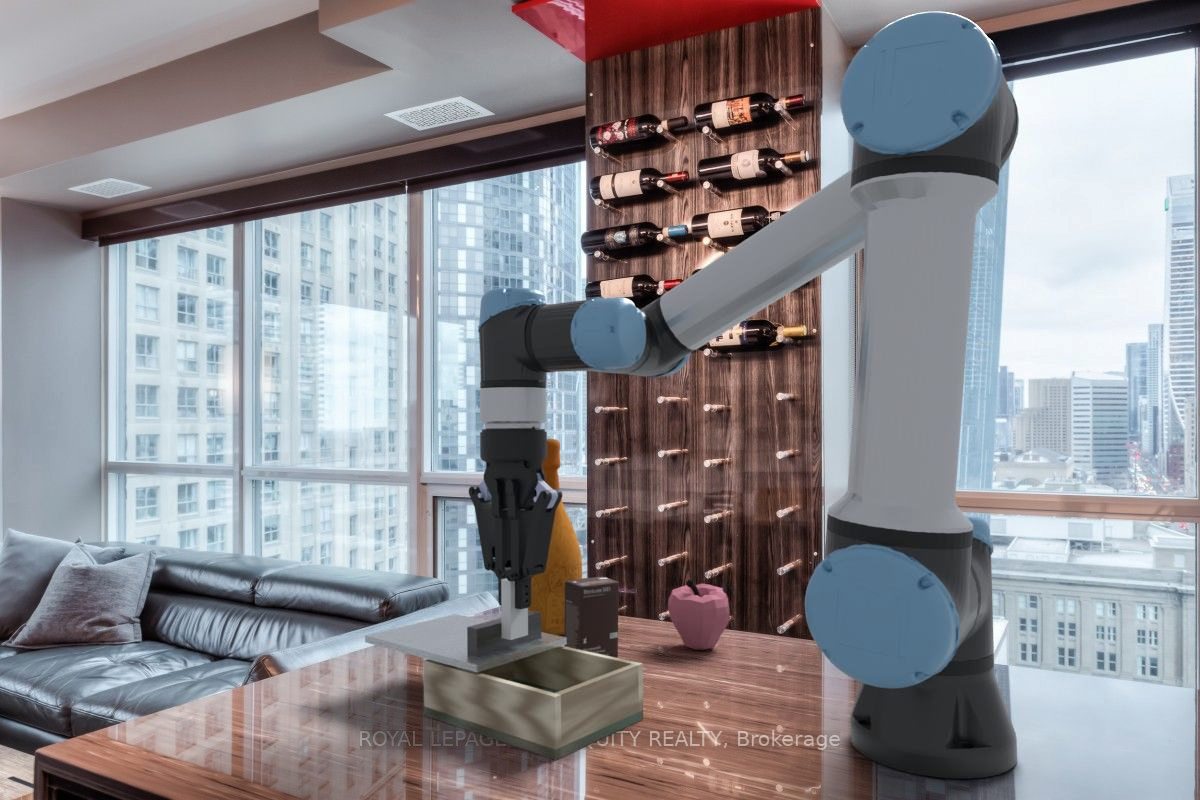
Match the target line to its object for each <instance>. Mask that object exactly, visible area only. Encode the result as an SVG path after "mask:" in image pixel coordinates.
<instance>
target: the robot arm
mask: <svg viewBox="0 0 1200 800" xmlns="http://www.w3.org/2000/svg"><path fill="white" fill-rule="evenodd" d="M839 97H840V98H839V99H840V109H841V115H842V120H843V124H844V125H845V129H846V130H847V132H848V133H849V135H850V136H851V137H852V139H853V147H852V161H851V162H852V163H851V169H849V171H847V172H845V173H844V174H842V175H841V176H839V177H838V178H837V179H834V180H833V181H831V183H829V184H827V185H826V186H824V187H823V188H822V189H820V190H818V191H817V192H815V193H814V194H812V195H811V196H809V197H808V198H806V199H805V200H803V201H801V202H800V203H799V204H797V205H796V206H794V207H792V208H791V209H790V210H788V211H787V212H786V213H784V214H782V215H781V216H779V217H778V218H777V219H775V220H773V221H772V222H770V223H768V224H766V226H764V227H762V228H761V229H760V230H758V231H757V232H755V233H754V234H752V235H751V236H749V237H748V238H747V239H744V240H743V241H742V242H741V243H739V244H737V245H736V246H735V247H733V248H731V249H730V250H728V251H727V252H725V253H724V254H722V255H721V256H719V257H718V258H717V259H715V260H714V261H712V262H710V263H709V264H707V265H706V266H704V267H702V268H701V269H700V270H698V271H697V272H695V273H694V274H692V275H690V276H689V277H688V278H687V279H685V280H683V281H682V282H680V283H679V284H677V285H675V287H672V288H671V289H670V290H669V291H667V292H665V293H664V294H662V295H661V296H660V297H658V298H657V299H655V300H653V301H652V302H651V303H649V304H647V305H645V307H643V308H641V309H640V308H639V307H636V305H635V303H634V302H633V301H632V300H631V299H629V298H626V297H604V296H596V297H595V296H594V298H592V299H591V298H590V299H584V300H576V301H566V302H561V303H560V302H559V303H551V304H547V300H546V296H545V294H544V293H543V292H542V291H541V290H539V289H536V288H535V289H534V288H529V287H528V288H527V287H501V288H495V289H493V288H492V289H491V290H488V291H486V292H485V293H484V294H483V295H482V297H481V299H480V309H479V325H478V326H477V330H478V331H477V332H478V338H479V339H478V340H479V342H478V343H479V360H480V361H479V362H480V364H479V365H480V367H479V368H480V381H479V383H480V384H479V385H480V386H479V422H480V424H482V425H483V424H485V425H484V427H485V428H483V429H482V430H481V432H479V433H480V434H479V450H480V451H479V455H480V459H481V461H482V462H485V464H486V467H485V470H484V472H483V481H481V482H480V483H479V484H478V485H475V486H474V485H473V486H470V487H469V488H468V495H469V497H470V500H471V502H472V504H473V507H474V512H475V517H476V522H477V523H476V524H477V529H478V536H479V542H480V547H481V548H480V549H481V553H482V560H483V566H484V568H485V570H486V571H491V572H493V573H494V574H495V576H496V577H497V580H498V581H497V582H498V583H497V591H498V593H497V594H498V597H497V599H498V604H499V606H501V614H500V615H501V620H502V638H504V639H508V640H513V639H516V638H520V637H523V636H527V635H528V608H529V607H530V605H531V579H532V577H533V576H535V575H538V574H541V573H544V572H545V570H546V564H547V558H548V553H549V547H550V541H551V535H552V529H553V523H554V518H555V512H556V509H557V507H558V505H559V503H560V501H561V499H562V498H563V492H562V490H561V489H560V490H559V489H557V490H553V489H552V488H551V487H550V486H549V485H548V484H547V483H546V482H545V474H544V471H543V468H542V463H543V461H544V460H545V459H546V457H547V438H548V435H547V434H548V433H547V431H546V428H542V424H545V423H546V422H547V373H556V372H557V373H559V372H597V373H607V374H608V373H609V374H621V375H622V374H623V375H632V376H633V375H634V376H641V377H646V378H648V379H649V378H650V379H654V378H661V377H668V376H672V375H674V374H676V373H678V372H679V371H681V370H682V369H683V368H684V367H685V365H686V364H687V362H688V360H689V359H690V357H691V354H692V352H694V351H696V350H698V349H699V348H701V347H703V346H705V345H706V344H708V343H709V342H711V341H713V340H714V339H716V338H718V337H719V336H721V335H723V334H724V333H726V332H727V331H730V329H733V328H734V327H736V326H737V325H739V324H741V323H742V322H744V321H745V320H747V319H749V318H750V317H752V316H754V315H755V314H757V313H759V312H761V311H763V310H764V309H766V308H768V307H769V306H771V305H772V304H773V303H775V302H777V301H778V300H780V299H782V298H783V297H785V296H787V295H789V294H790V293H792V292H793V291H795V290H797V289H798V288H800V287H801V286H803V285H805V284H806V283H808V282H810V281H812V280H814V279H815V278H817V277H818V276H820V275H822V274H823V273H825V272H827V271H829V269H831V268H834V267H835V266H836V265H838V264H840V263H841V262H843V261H844V260H846V259H849V258H850V257H851V256H853V255H855V254H856V253H858V252H860V251H861V250H863V249H864V251H863V252H864V253H863V266H862V267H863V268H862V269H863V270H862V278H861V279H862V280H861V283H862V284H861V293H860V295H861V297H860V306H859V307H860V308H859V323H858V325H859V327H858V336H857V337H858V339H857V351H856V365H855V367H856V368H855V380H854V381H855V382H854V393H853V395H854V396H853V405H852V408H853V409H852V423H851V435H850V450H849V465H848V476H847V477H848V479H847V480H848V481H847V490H846V492H845V493H844V494H843V496H841V497H840V498H838V500H836V501H835V502H834V503H833V504H832V505H830V506H829V507H828V508H827V509H828V510H827V517H826V519H827V520H826V533H825V546H824V556H823V557H824V558H823V560H821V561H820V562H819V563H818V564H817V565H816V567H815V568H814V570H813V574H812V575H811V577H810V579H809V582H808V584H807V587H806V591H805V596H804V611H805V612H804V613H805V618H806V623H807V627H808V630H809V632H810V635H811V636H812V637H811V638H813V640H814V641H813V642H814V643H815V645H816V646H817V648H818V649H819V650H820V651H821V652H822V653H823V654H824V656H825V658H827V660H829V662H830V663H831V664H832V665H833V666H834V667H835V668H837V669H838V670H839V671H840V672H842V673H843V674H844V675H846V676H848V677H850V678H851V679H853V680H856V681H857V682H859V683H860V685H859V689H858V691H857V695H856V697H855V700H854V704H853V707H852V710H851V714H850V722H849V723H850V742H851V744H852V745H853V747H854V748H855V749H856V750H857V751H858V752H859V753H861V754H862V755H863V756H865V757H866V758H868V759H870V760H871V761H874V762H877V763H878V764H882V765H883V766H886V767H889V768H892V769H896V770H899V771H903V772H906V773H910V774H916V775H921V776H928V777H933V778H942V779H944V778H945V779H978V778H979V779H980V778H988V777H993V776H997V775H1001V774H1003V773H1006V772H1009V770H1012V768H1014V767H1015V766H1016V764H1017V762H1018V745H1017V744H1018V741H1017V740H1018V739H1017V734H1016V731H1015V727H1014V724H1013V722H1012V720H1011V717H1010V714H1009V711H1008V709H1007V705H1006V703H1005V700H1004V697H1003V694H1002V692H1001V689H1000V686H999V684H998V681H997V677H996V674H995V656H994V655H995V654H994V653H995V652H994V651H995V649H994V648H995V645H994V644H995V643H994V615H993V614H994V612H993V611H994V609H993V580H992V579H993V573H992V571H993V570H992V555H993V553H994V545H993V543H992V541H991V540H992V538H991V532H990V531H991V529H990V526H989V524H988V522H987V521H986V520H985V519H984V518H983V517H980V516H978V515H973V514H964V512H963V511H962V510H961V509H960V508H959V505H958V504H957V502H956V493H957V492H956V491H957V489H956V488H957V478H958V467H959V466H958V465H959V451H960V450H959V449H960V437H961V424H962V412H963V411H962V410H963V397H964V386H965V385H964V382H965V372H966V371H965V370H966V359H967V358H966V357H967V345H968V329H969V319H970V318H969V315H970V314H969V313H970V303H971V302H970V301H971V287H972V274H973V262H974V261H973V260H974V249H975V248H974V247H975V246H974V245H975V235H976V234H975V233H976V232H975V231H976V219H977V214H978V212H980V210H981V209H982V208H983V207H984V206H986V204H988V203H989V202H990V201H991V200H993V199H994V198H996V196H997V195H998V193H999V183H1000V172H1001V170H1002V169H1003V167H1004V165H1005V164H1006V163H1007V161H1008V160H1009V158H1010V156H1011V154H1012V151H1013V150H1014V148H1015V144H1016V141H1017V138H1018V135H1019V124H1020V123H1019V122H1020V119H1019V111H1018V105H1017V103H1016V100H1015V97H1014V95H1013V93H1012V91H1011V88H1010V87H1009V85H1008V82H1007V80H1006V77H1005V74H1004V73H1003V63H1002V58H1001V55H1000V52H999V51H998V48H997V46H996V44H995V43H994V42H993V40H991V38H989V37H988V36H987V34H985V32H984V31H983V30H982V29H981V28H980V26H978V24H976V23H974V22H973V21H972V20H970V19H968V18H966V17H964V16H962V15H959V14H957V13H952V12H946V11H924V12H918V13H914V14H910V15H907V16H905V17H902V18H900V19H897V20H894V21H893V22H891V23H889V24H888V25H886V26H884V27H883V28H881V29H880V30H879V31H878V32H876V33H875V34H874V35H873V36H872V37H871V38H870V39H869V40H868V41H867V42H866V43H865V44H864V45H863V46H861V47H860V49H858V51H857V52H856V54H855V55H854V57H852V59H851V61H850V63H849V65H848V67H847V69H846V72H845V74H844V76H843V79H842V84H841V89H840V96H839ZM562 500H563V499H562Z"/></svg>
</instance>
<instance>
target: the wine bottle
mask: <svg viewBox="0 0 1200 800" xmlns="http://www.w3.org/2000/svg"><path fill="white" fill-rule="evenodd" d="M561 465H562V464H561V443H560V441H559V440H558V439H554V438H548V439H547V457H546V459H545V460H544V461H543V463H542V468H543V471H544V474H545V482H546V483H547V484H548V485H549V486H550V487H551V488H552V489H553V490H557V489H559V490H561V489H560V478H559V477H560V476H559V472H558V470H559V469H560V468H561ZM582 578H583V558H582V551H581V547H580V543H579V540H578V537H577V534H576V531H575V528H574V526H573V525H572V522H571V520H570V517H569V514H568V512H567V511H566V508H565V506H564V503H563V499H561V501H560V503H559V505H558V507H557V509H556V512H555V518H554V523H553V529H552V535H551V541H550V547H549V553H548V558H547V564H546V570H545V572H544V573H541V574H538V575H535V576H533V577H532V579H531V605H530V607H529V608H528V611H537V612H541V632H543V633H548V634H553V635H557V636H564V633H565V632H564V629H565V581H569V580H577V579H582Z"/></svg>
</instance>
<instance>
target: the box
mask: <svg viewBox="0 0 1200 800" xmlns="http://www.w3.org/2000/svg"><path fill="white" fill-rule="evenodd" d="M619 587H620V581H617V580H614V579H611V578H608V577H605V576H594V577H582V579H577V580H569V581H565V629H564V632H565V633H564V635H563V637H567V644H566V645H563V646H565V647H570V648H574V649H579V650H583V651H588V652H593V653H597V654H602V655H606V656H611V657H615V658H619V603H620V602H619V601H620V600H619V593H620V592H619V590H620V588H619Z"/></svg>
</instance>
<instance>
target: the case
mask: <svg viewBox="0 0 1200 800" xmlns="http://www.w3.org/2000/svg"><path fill="white" fill-rule="evenodd" d="M643 666H644V664H643V663H642V662H637V661H633V660H628V659H624V658H620V657H618V658H615V657H611V656H606V655H602V654H597V653H593V652H588V651H583V650H579V649H574V648H570V647H565V646H564V645H563V646H560V647H557V648H553V649H550V650H547V651H544V652H541V653H538V654H534V655H531V656H528V657H525V658H522V659H519V660H515V661H512V662H509V663H506V664H503V665H500V666H496V667H493V668H490V669H487V670H484V671H480V672H473V671H469V670H466V669H462V668H458V667H455V666H451V665H447V664H444V663H440V662H436V661H432V660H429V659H426V660H423V716H426V717H429V718H431V719H434V720H437V721H440V722H443V723H445V724H449V725H452V726H455V727H458V728H461V729H463V730H467V731H470V732H472V733H475V734H478V735H481V736H484V737H487V738H490V739H493V740H496V741H499V742H502V743H505V744H507V745H509V746H513V747H515V748H516V747H517V748H519V749H522V750H525V751H528V752H530V753H533V754H536V755H539V756H543V757H546V758H548V759H552V760H554V761H557V760H560V759H561V758H564V757H566V756H568V755H570V754H572V753H574V752H576V751H578V750H581V749H583V748H584V747H587V746H589V745H592V744H593V743H595V742H598V741H600V740H601V739H605V738H606V737H608V736H610V735H613V734H614V733H617V732H619V731H621V730H624V729H626V728H628V727H630V726H632V725H634V724H636V723H638V722H641V721H642V720H644V678H643V677H644V672H643V671H644V667H643Z"/></svg>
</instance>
